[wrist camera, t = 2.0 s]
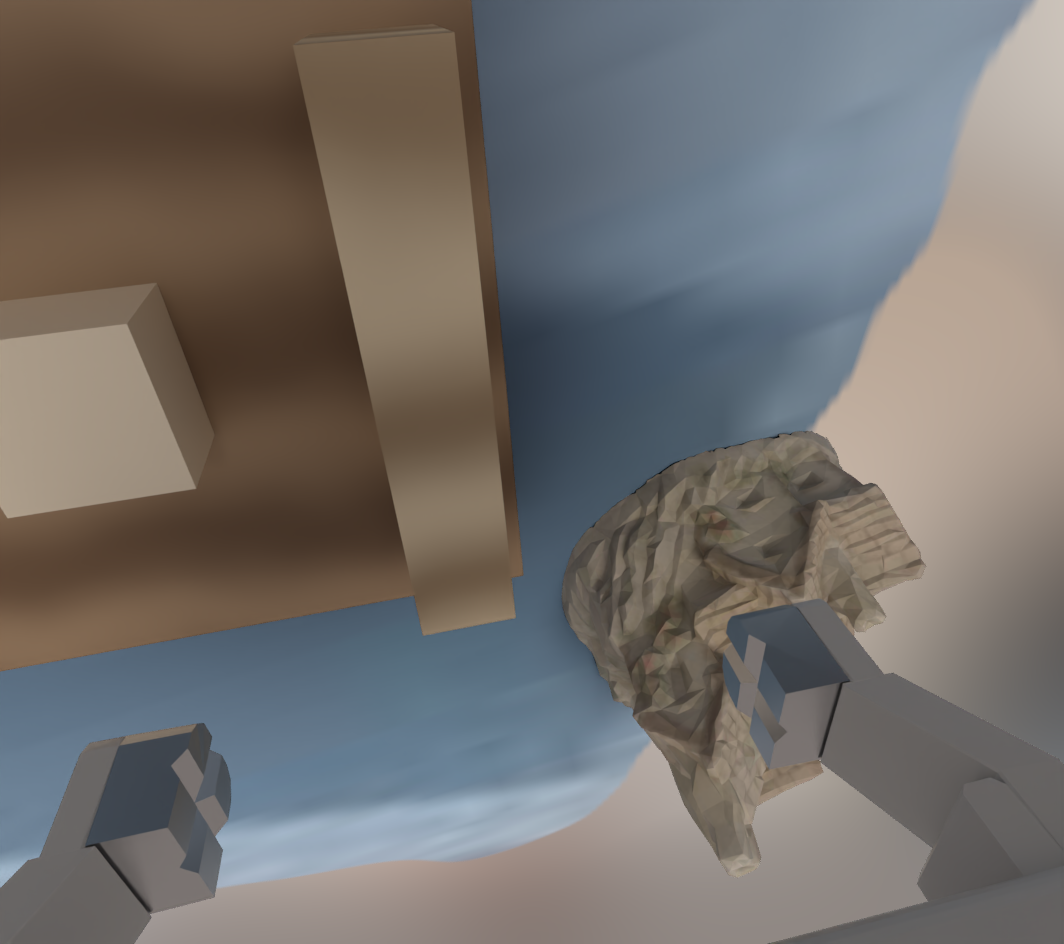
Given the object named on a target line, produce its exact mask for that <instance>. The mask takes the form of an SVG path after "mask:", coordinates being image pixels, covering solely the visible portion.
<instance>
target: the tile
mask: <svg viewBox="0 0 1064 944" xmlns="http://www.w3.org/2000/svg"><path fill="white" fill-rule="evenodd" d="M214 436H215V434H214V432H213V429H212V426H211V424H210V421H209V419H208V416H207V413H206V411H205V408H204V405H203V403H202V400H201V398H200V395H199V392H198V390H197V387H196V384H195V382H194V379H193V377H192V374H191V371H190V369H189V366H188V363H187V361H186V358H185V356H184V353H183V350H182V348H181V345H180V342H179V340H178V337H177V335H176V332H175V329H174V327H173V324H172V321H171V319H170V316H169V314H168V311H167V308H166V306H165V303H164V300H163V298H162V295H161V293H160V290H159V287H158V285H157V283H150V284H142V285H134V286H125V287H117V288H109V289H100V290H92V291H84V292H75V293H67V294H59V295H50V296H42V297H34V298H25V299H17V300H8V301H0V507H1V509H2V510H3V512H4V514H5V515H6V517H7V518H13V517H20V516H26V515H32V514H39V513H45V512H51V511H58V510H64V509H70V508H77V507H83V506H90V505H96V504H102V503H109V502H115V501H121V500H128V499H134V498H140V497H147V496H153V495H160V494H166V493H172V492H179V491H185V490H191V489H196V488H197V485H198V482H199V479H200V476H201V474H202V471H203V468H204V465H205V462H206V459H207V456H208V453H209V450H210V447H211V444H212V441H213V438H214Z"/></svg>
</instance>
